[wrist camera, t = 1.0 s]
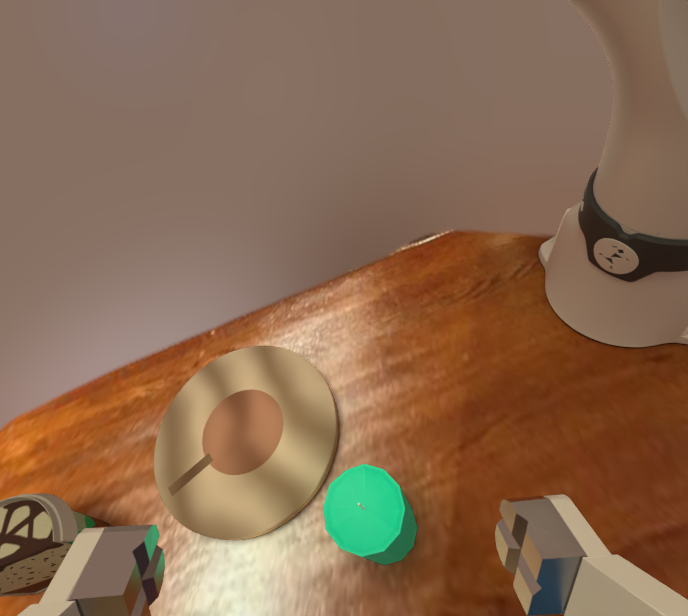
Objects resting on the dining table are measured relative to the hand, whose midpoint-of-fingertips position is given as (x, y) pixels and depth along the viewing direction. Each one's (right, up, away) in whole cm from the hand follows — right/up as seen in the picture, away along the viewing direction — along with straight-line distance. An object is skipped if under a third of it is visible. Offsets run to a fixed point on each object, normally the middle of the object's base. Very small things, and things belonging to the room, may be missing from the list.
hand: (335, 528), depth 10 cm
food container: (-27, -19, +34) cm, 48 cm away
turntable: (-10, -8, +35) cm, 37 cm away
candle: (+4, -15, +28) cm, 32 cm away
